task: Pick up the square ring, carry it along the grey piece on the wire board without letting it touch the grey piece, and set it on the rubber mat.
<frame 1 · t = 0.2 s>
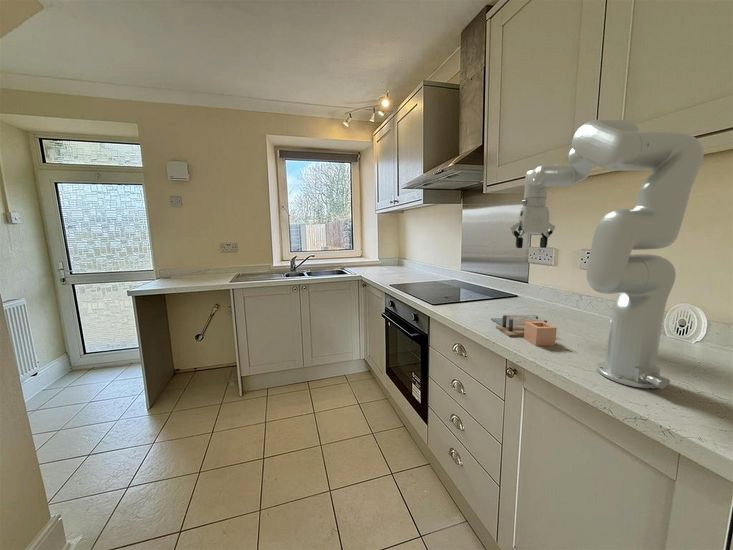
hand: (531, 247, 115), 30 cm above the worktop, tool pointing down, fingers open, 9 cm apart
grey piece: (523, 323, 108), on the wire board, point 3 cm above the worktop
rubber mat: (509, 322, 119), on the worktop
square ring: (538, 341, 99), on the worktop
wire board: (523, 331, 108), on the worktop
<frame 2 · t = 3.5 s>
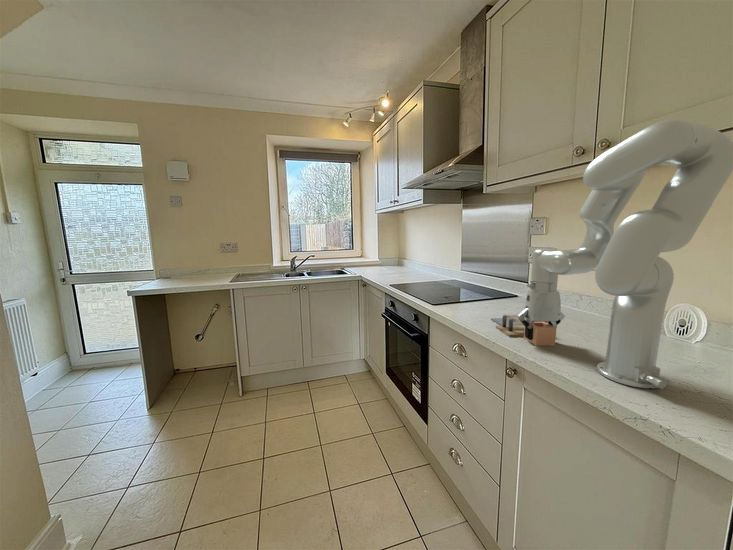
hand: (539, 337, 98), 1 cm above the worktop, tool pointing down, fingers closed on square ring, 6 cm apart
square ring: (538, 341, 99), on the worktop, touching gripper
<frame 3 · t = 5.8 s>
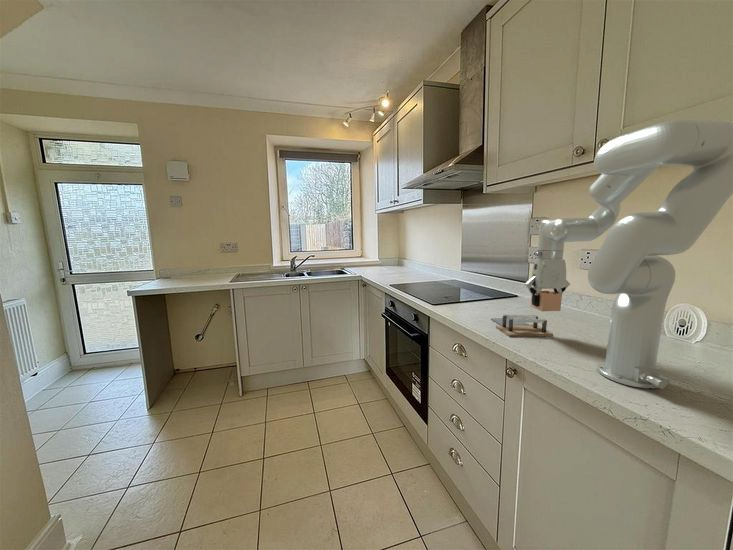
hand: (545, 304, 104), 11 cm above the worktop, tool pointing down, fingers closed on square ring, 6 cm apart
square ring: (544, 308, 104), point 10 cm above the worktop, touching gripper
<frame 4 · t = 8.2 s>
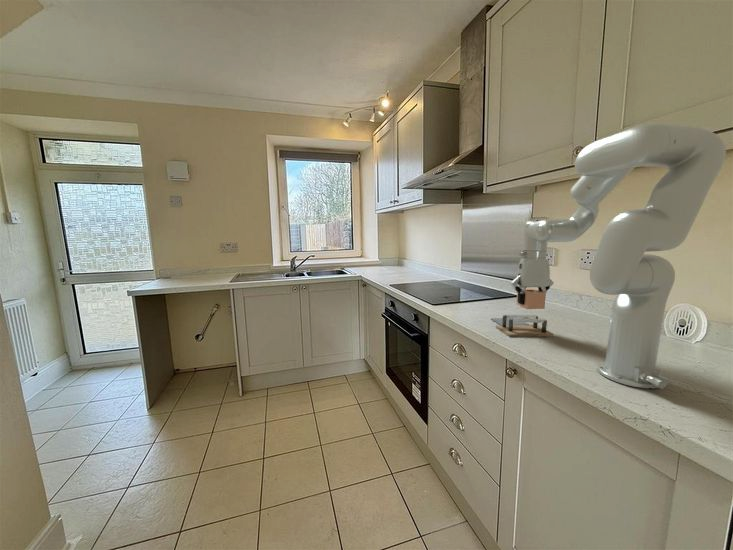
hand: (530, 303, 108), 11 cm above the worktop, tool pointing down, fingers closed on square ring, 6 cm apart
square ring: (530, 306, 108), point 9 cm above the worktop, touching gripper
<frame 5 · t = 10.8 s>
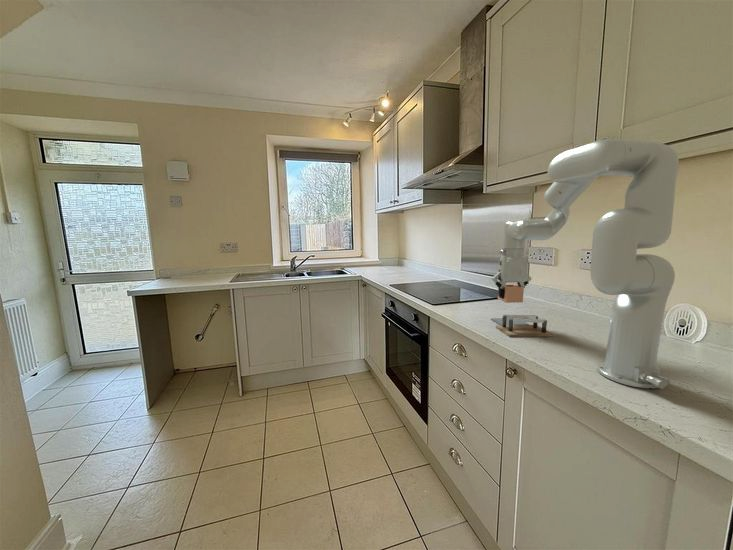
hand: (510, 297, 116), 11 cm above the worktop, tool pointing down, fingers closed on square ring, 6 cm apart
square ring: (509, 300, 117), point 10 cm above the worktop, touching gripper
when the fingers open (3 cm above the worktop, at t = 12.8 s): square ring drops 1 cm, resting on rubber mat.
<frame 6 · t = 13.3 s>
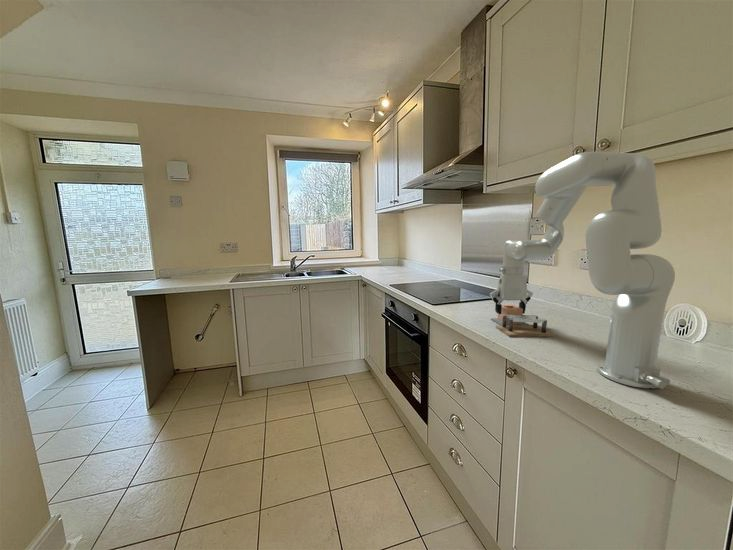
hand: (510, 313, 118), 4 cm above the worktop, tool pointing down, fingers open, 9 cm apart
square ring: (509, 321, 119), point 1 cm above the worktop, touching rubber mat
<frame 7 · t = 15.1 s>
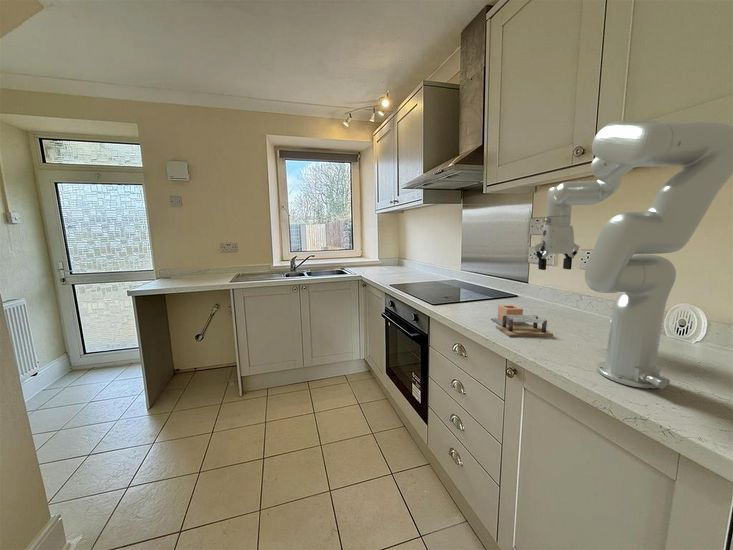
hand: (554, 269, 106), 23 cm above the worktop, tool pointing down, fingers open, 9 cm apart
nothing on the worktop moved.
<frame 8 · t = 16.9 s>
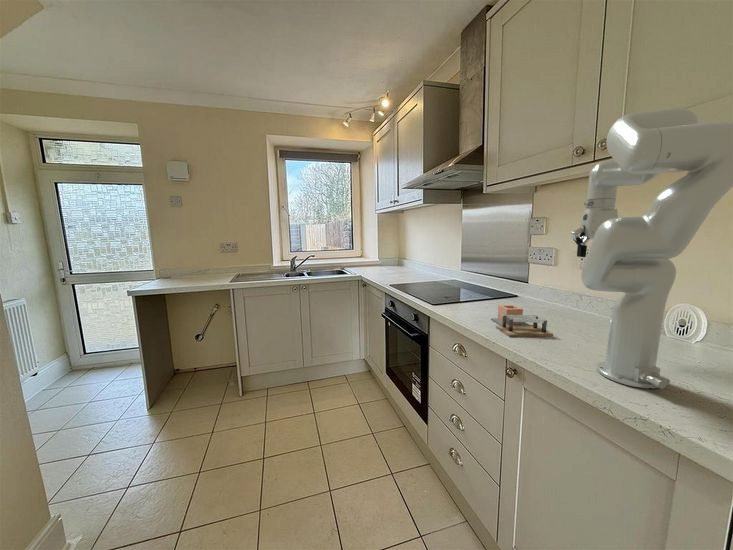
hand: (594, 256, 99), 28 cm above the worktop, tool pointing down, fingers open, 9 cm apart
nothing on the worktop moved.
at the end: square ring 0.0 cm off-centre on the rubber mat, point 0.6 cm above the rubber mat's base; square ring tilted 0°; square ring touching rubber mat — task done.
